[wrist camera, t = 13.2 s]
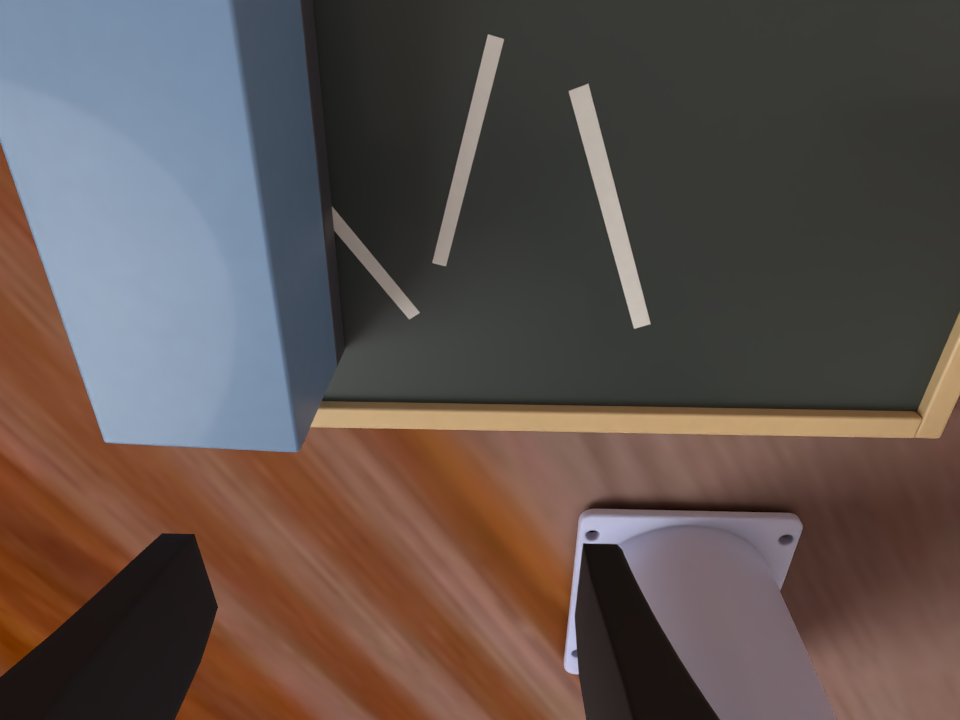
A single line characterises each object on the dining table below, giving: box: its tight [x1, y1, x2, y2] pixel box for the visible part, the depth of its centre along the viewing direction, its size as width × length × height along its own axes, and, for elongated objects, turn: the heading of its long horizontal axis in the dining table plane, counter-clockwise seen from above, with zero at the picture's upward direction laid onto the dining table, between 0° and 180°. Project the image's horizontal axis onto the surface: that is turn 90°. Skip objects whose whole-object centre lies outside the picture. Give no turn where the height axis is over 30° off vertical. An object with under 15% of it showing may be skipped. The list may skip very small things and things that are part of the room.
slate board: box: [310, 0, 960, 438], centre depth 17 cm, size 14×26×1 cm, turn 90°
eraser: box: [0, 0, 345, 452], centre depth 15 cm, size 10×5×5 cm, turn 178°
